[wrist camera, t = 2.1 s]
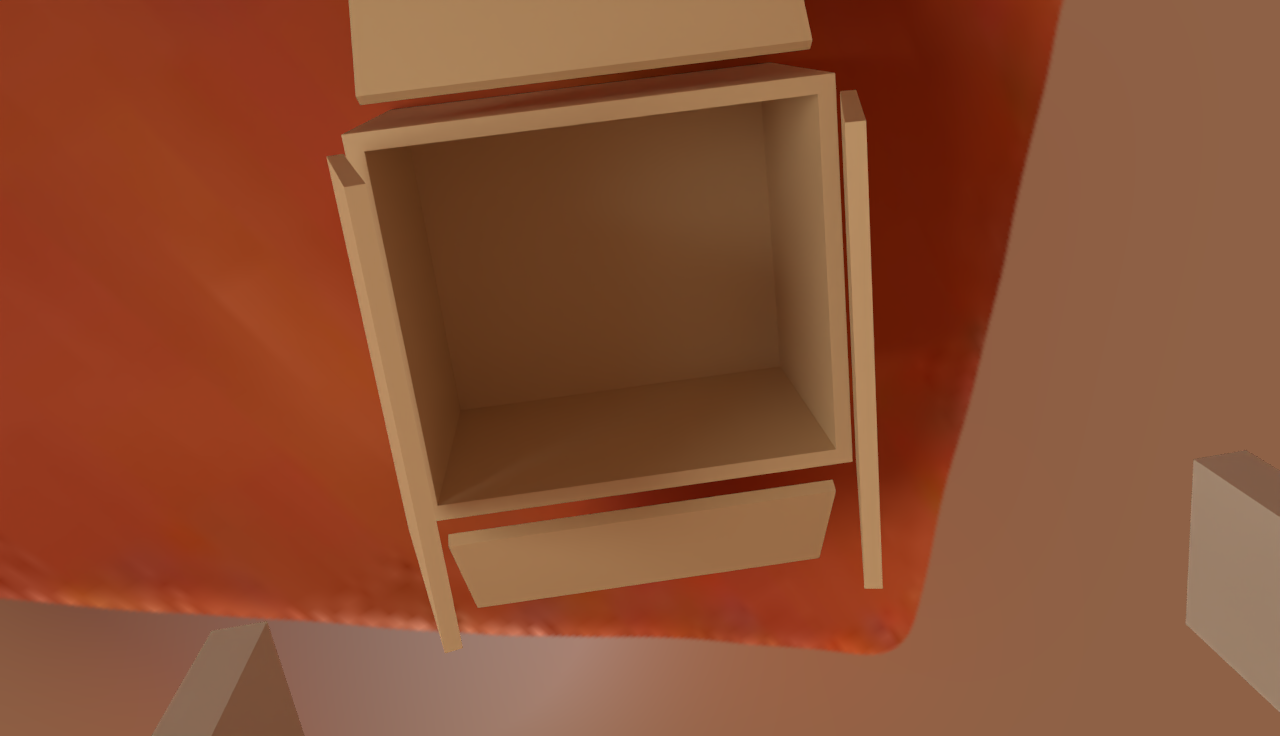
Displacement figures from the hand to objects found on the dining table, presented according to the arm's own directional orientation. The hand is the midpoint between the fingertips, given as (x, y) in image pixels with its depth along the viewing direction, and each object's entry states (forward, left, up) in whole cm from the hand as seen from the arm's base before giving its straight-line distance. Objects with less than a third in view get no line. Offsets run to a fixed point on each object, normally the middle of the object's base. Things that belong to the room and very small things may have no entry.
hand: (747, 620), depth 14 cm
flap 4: (+6, -1, -16) cm, 17 cm away
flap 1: (-7, -1, -16) cm, 17 cm away
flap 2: (-1, +9, -22) cm, 24 cm away
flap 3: (-1, -12, -22) cm, 25 cm away
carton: (-1, -1, -31) cm, 31 cm away
